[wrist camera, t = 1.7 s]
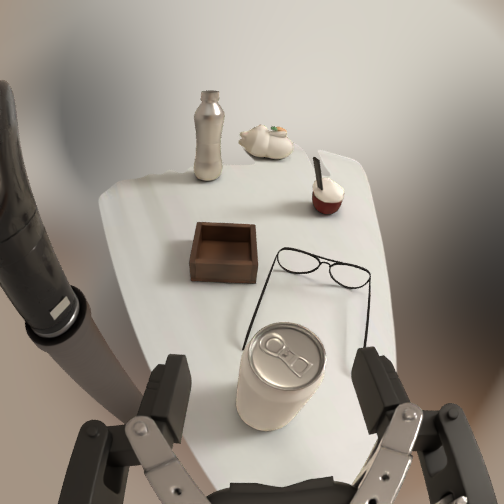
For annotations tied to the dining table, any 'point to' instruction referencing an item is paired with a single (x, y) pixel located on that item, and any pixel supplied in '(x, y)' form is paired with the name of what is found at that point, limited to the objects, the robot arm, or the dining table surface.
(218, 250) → the tray
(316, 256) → the glasses
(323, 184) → the cocoa
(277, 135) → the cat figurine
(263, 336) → the can
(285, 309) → the dining table surface
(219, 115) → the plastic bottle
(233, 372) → the dining table surface
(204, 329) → the dining table surface
